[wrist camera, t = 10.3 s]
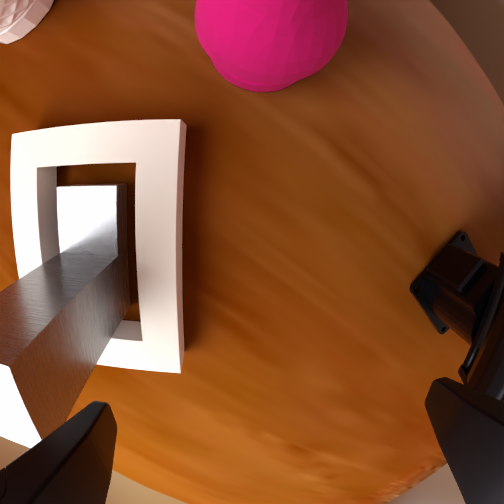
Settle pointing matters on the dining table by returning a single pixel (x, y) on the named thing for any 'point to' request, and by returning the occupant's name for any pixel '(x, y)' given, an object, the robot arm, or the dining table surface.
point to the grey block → (64, 312)
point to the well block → (146, 222)
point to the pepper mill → (270, 39)
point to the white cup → (20, 17)
